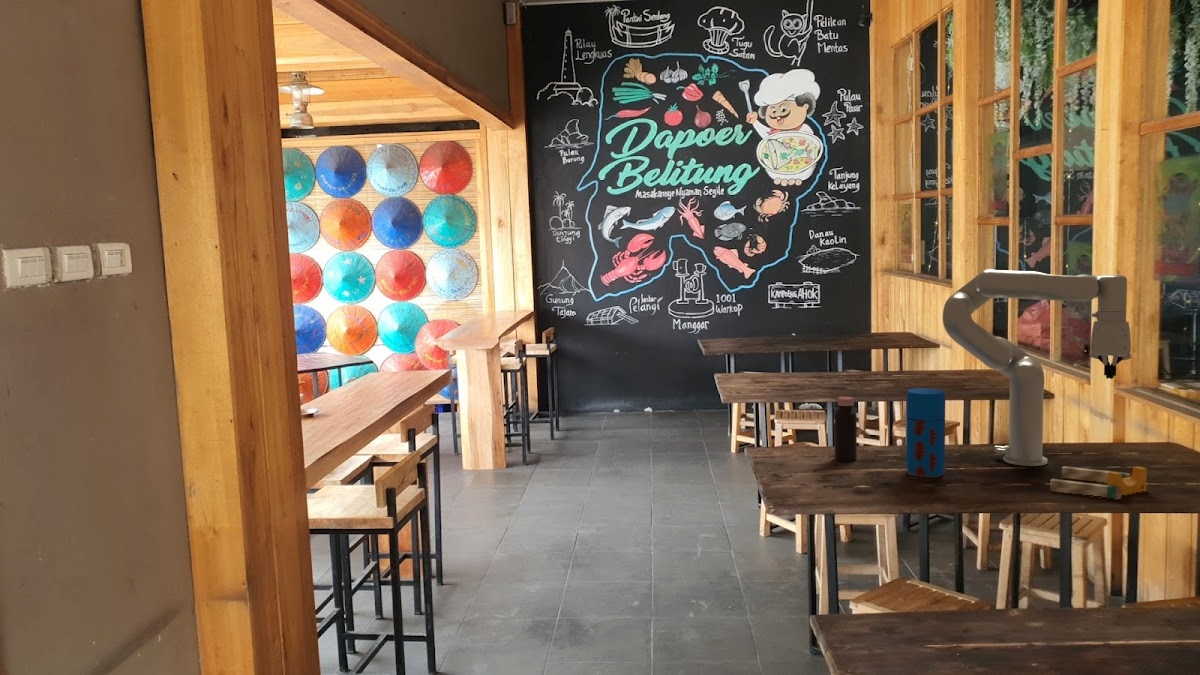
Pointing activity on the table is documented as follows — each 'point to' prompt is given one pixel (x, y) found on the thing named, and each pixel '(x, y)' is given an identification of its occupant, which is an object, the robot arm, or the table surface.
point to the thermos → (926, 431)
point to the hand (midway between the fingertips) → (1109, 378)
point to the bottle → (845, 430)
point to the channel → (1083, 487)
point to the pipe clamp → (1129, 481)
